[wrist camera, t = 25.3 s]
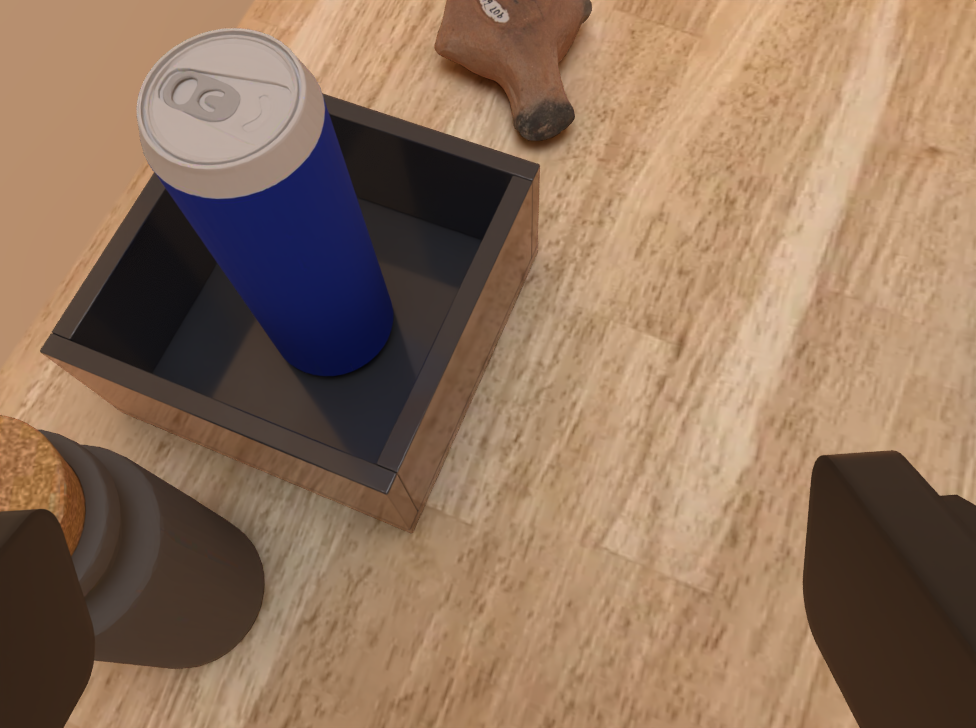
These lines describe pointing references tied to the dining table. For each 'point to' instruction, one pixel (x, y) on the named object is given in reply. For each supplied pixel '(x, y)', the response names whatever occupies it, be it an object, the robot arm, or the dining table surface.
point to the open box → (259, 365)
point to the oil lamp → (517, 54)
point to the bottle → (137, 550)
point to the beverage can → (268, 193)
